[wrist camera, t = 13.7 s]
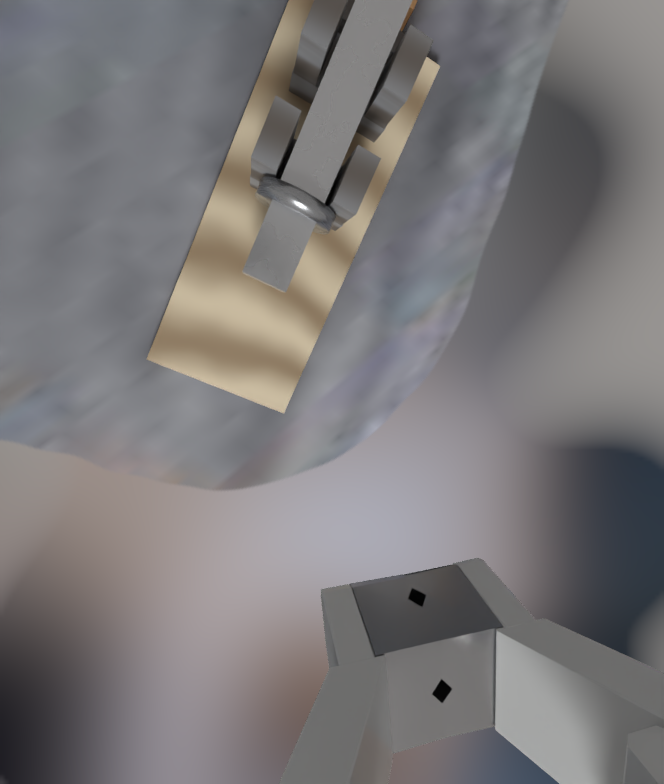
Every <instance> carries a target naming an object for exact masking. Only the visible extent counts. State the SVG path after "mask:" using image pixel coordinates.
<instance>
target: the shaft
mask: <svg viewBox="0 0 664 784" xmlns="http://www.w3.org/2000/svg"><path fill="white" fill-rule="evenodd" d="M412 1H413V0H355V2H354V4H353V7H352V9H351V11H350V14H349V16H348V19H347V21H346V23H345V26H344V28H343V31H342V33H341V35H340V38H339V40H338V43H337V45H336V47H335V50H334V52H333V55H332V57H331V59H330V62H329V64H328V67H327V69H326V71H325V74H324V76H323V79H322V81H321V83H320V86H319V88H318V91H317V93H316V95H315V98H314V100H313V103H312V105H311V107H310V110H309V112H308V115H307V117H306V120H305V122H304V124H303V127H302V129H301V132H300V134H299V136H298V139H297V141H296V144H295V146H294V148H293V151H292V153H291V156H290V158H289V160H288V163H287V165H286V168H285V170H284V172H283V175H282V177H281V180H280V179H277V178H273V177H262V178H261V181H260V183H259V186H258V188H257V191H256V193H255V197H256V199H257V200H258V201H259V202H260V203H261V204H263V205H264V206H265V207H266V208H268V211H267V213H266V216H265V218H264V220H263V223H262V225H261V228H260V230H259V232H258V235H257V237H256V240H255V242H254V244H253V247H252V249H251V252H250V254H249V256H248V259H247V261H246V264H245V266H244V268H243V271H242V272H243V274H245V275H247V276H249V277H251V278H253V279H256V280H258V281H260V282H262V283H264V284H266V285H268V286H270V287H273V288H275V289H277V290H279V291H281V292H286V291H287V289H288V287H289V284H290V282H291V280H292V277H293V275H294V273H295V270H296V268H297V266H298V264H299V261H300V259H301V257H302V254H303V252H304V250H305V247H306V245H307V243H308V240H309V238H310V236H311V234H312V232H315V233H319V234H324V235H326V234H329V232H330V230H331V228H332V225H333V223H334V221H335V218H336V216H335V214H334V212H333V211H332V210H331V209H330V208H329V207H328V206H327V205H326V204H325V201H326V199H327V197H328V194H329V192H330V190H331V187H332V185H333V183H334V180H335V178H336V176H337V174H338V171H339V169H340V167H341V164H342V162H343V160H344V157H345V155H346V153H347V151H348V148H349V146H350V144H351V141H352V139H353V137H354V134H355V132H356V130H357V127H358V125H359V123H360V121H361V118H362V116H363V114H364V111H365V109H366V107H367V104H368V102H369V100H370V97H371V95H372V93H373V91H374V88H375V86H376V84H377V81H378V79H379V77H380V74H381V72H382V70H383V67H384V65H385V63H386V61H387V58H388V56H389V54H390V51H391V49H392V47H393V44H394V42H395V40H396V37H397V35H398V33H399V31H400V28H401V26H402V24H403V21H404V19H405V17H406V14H407V12H408V10H409V7H410V5H411V3H412Z"/></svg>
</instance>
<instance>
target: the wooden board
mask: <svg viewBox="0 0 664 784" xmlns="http://www.w3.org/2000/svg"><path fill="white" fill-rule="evenodd" d="M354 2H355V0H289V1H288V4H287V6H286V9H285V11H284V14H283V16H282V19H281V21H280V24H279V26H278V29H277V31H276V34H275V36H274V39H273V41H272V44H271V47H270V49H269V52H268V54H267V57H266V59H265V62H264V64H263V67H262V69H261V72H260V74H259V77H258V79H257V82H256V84H255V87H254V89H253V92H252V94H251V97H250V100H249V102H248V105H247V107H246V110H245V112H244V115H243V117H242V120H241V122H240V125H239V127H238V130H237V132H236V135H235V137H234V140H233V142H232V145H231V147H230V150H229V153H228V155H227V158H226V160H225V163H224V165H223V168H222V170H221V173H220V175H219V178H218V180H217V183H216V185H215V188H214V190H213V193H212V195H211V198H210V201H209V203H208V206H207V208H206V211H205V213H204V216H203V218H202V221H201V223H200V226H199V228H198V231H197V233H196V236H195V238H194V241H193V243H192V246H191V248H190V251H189V254H188V256H187V259H186V261H185V264H184V266H183V269H182V271H181V274H180V276H179V279H178V281H177V284H176V286H175V289H174V291H173V294H172V296H171V299H170V301H169V304H168V307H167V309H166V312H165V314H164V317H163V319H162V322H161V324H160V327H159V329H158V332H157V334H156V337H155V339H154V342H153V344H152V347H151V349H150V352H149V354H148V357H147V360H150V361H152V362H155V363H157V364H160V365H162V366H165V367H167V368H170V369H172V370H175V371H177V372H180V373H183V374H185V375H188V376H190V377H193V378H195V379H198V380H200V381H203V382H205V383H208V384H210V385H213V386H215V387H218V388H221V389H223V390H226V391H228V392H231V393H233V394H236V395H238V396H241V397H243V398H246V399H248V400H251V401H253V402H256V403H259V404H261V405H264V406H266V407H269V408H271V409H274V410H276V411H279V412H281V413H284V412H285V409H286V407H287V405H288V403H289V401H290V398H291V396H292V394H293V392H294V389H295V387H296V385H297V383H298V381H299V378H300V376H301V374H302V372H303V370H304V367H305V365H306V363H307V361H308V358H309V356H310V354H311V352H312V350H313V347H314V345H315V343H316V341H317V338H318V336H319V334H320V332H321V330H322V327H323V325H324V323H325V321H326V318H327V316H328V314H329V312H330V310H331V307H332V305H333V303H334V301H335V299H336V296H337V294H338V292H339V290H340V287H341V285H342V283H343V281H344V279H345V276H346V274H347V272H348V270H349V267H350V265H351V263H352V261H353V259H354V256H355V254H356V252H357V250H358V248H359V245H360V243H361V241H362V239H363V236H364V234H365V232H366V230H367V228H368V225H369V223H370V221H371V219H372V216H373V214H374V212H375V210H376V208H377V205H378V203H379V201H380V199H381V196H382V194H383V192H384V190H385V188H386V185H387V183H388V181H389V179H390V177H391V174H392V172H393V170H394V168H395V165H396V163H397V161H398V159H399V157H400V154H401V152H402V150H403V148H404V145H405V143H406V141H407V139H408V137H409V134H410V132H411V130H412V128H413V125H414V123H415V121H416V119H417V117H418V114H419V112H420V110H421V108H422V106H423V103H424V101H425V99H426V97H427V94H428V92H429V90H430V88H431V86H432V83H433V81H434V79H435V77H436V74H437V72H438V70H439V68H440V66H439V65H438V64H436V63H435V62H434V61H432V60H431V59H429V58H428V57H427V54H428V52H429V50H430V48H431V45H432V43H433V41H434V40H432V39H431V38H429V37H428V36H426V35H425V34H424V33H422V32H421V31H419V30H418V29H417V28H415V27H414V26H412V25H411V24H410V26H409V28H408V30H407V31H406V33H405V35H404V32H402V31H401V30H400V31H399V33H398V35H397V37H396V40H395V42H394V44H393V47H392V49H391V51H390V54H389V56H388V58H387V61H386V63H385V65H384V67H383V70H382V72H381V74H380V77H379V79H378V81H377V84H376V86H375V88H374V91H373V93H372V95H371V97H370V100H369V102H368V104H367V107H366V109H365V111H364V114H363V116H362V118H361V121H360V123H359V125H358V127H357V130H356V132H355V134H354V137H353V139H352V141H351V144H350V146H349V148H348V151H347V153H346V155H345V157H344V160H343V162H342V164H341V167H340V169H339V171H338V174H337V176H336V178H335V180H334V183H333V185H332V187H331V190H330V192H329V194H328V197H327V199H326V201H325V204H326V205H327V206H328V207H329V208H330V209H331V210H332V211H333V212H334V214H335V216H336V218H335V221H334V223H333V225H332V228H331V230H330V232H329V234H326V235H324V234H319V233H315V232H312V234H311V236H310V238H309V240H308V243H307V245H306V247H305V250H304V252H303V254H302V257H301V259H300V261H299V264H298V266H297V268H296V270H295V273H294V275H293V277H292V280H291V282H290V284H289V287H288V289H287V291H286V292H281V291H279V290H277V289H275V288H273V287H270V286H268V285H266V284H264V283H262V282H260V281H258V280H256V279H253V278H251V277H249V276H247V275H245V274H243V272H242V271H243V268H244V266H245V264H246V261H247V259H248V256H249V254H250V252H251V249H252V247H253V244H254V242H255V240H256V237H257V235H258V232H259V230H260V228H261V225H262V223H263V220H264V218H265V216H266V213H267V211H268V208H266V207H265V206H264V205H263V204H261V203H260V202H259V201H258V200H257V199H256V197H255V193H256V191H257V188H258V186H259V183H260V181H261V178H262V177H273V178H277V179H280V180H281V177H282V175H283V172H284V170H285V168H286V165H287V163H288V160H289V158H290V156H291V153H292V151H293V148H294V146H295V144H296V141H297V139H298V136H299V134H300V132H301V129H302V127H303V124H304V122H305V120H306V117H307V115H308V112H309V110H310V107H311V105H312V103H313V100H314V98H315V95H316V93H317V91H318V88H319V86H320V83H321V81H322V79H323V76H324V74H325V71H326V69H327V67H328V64H329V62H330V59H331V57H332V55H333V52H334V50H335V47H336V45H337V43H338V40H339V38H340V35H341V33H342V31H343V28H344V26H345V23H346V21H347V19H348V16H349V14H350V11H351V9H352V7H353V4H354Z"/></svg>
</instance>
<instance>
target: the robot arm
mask: <svg viewBox="0 0 664 784" xmlns="http://www.w3.org/2000/svg"><path fill="white" fill-rule="evenodd" d="M321 602H322V611H323V621H324V631H325V641H326V648H327V656H328V663H329V671H328V673H327V675H326V677H325V680H324V682H323V684H322V687H321V689H320V691H319V693H318V696H317V698H316V700H315V702H314V705H313V707H312V709H311V712H310V714H309V716H308V718H307V721H306V723H305V725H304V728H303V730H302V732H301V734H300V737H299V739H298V741H297V744H296V746H295V748H294V750H293V753H292V755H291V757H290V760H289V762H288V764H287V766H286V769H285V771H284V773H283V775H282V778H281V780H280V783H279V784H388V782H389V776H390V770H391V765H392V760H393V753H396V752H400V751H403V750H406V749H409V748H413V747H416V746H419V745H422V744H426V743H429V742H433V741H435V740H439V739H442V738H447V737H451V736H455V735H460V734H464V733H468V732H472V731H477V730H481V729H486V728H490V727H494V726H495V730H496V731H498V732H499V733H500V734H501V735H502V736H504V737H505V738H506V739H507V740H508V741H509V742H511V743H512V744H513V745H514V746H515V747H517V748H518V749H519V750H520V751H521V752H523V753H524V754H525V755H526V756H528V757H529V758H530V759H531V760H532V761H533V762H535V763H536V764H537V765H538V766H540V768H542V769H543V770H544V771H545V772H547V773H548V774H549V775H550V776H551V777H553V778H554V779H555V780H556V781H557V782H558V783H560V784H664V673H663V672H661V671H659V670H656V669H654V668H652V667H650V666H648V665H645V664H643V663H641V662H639V661H636V660H634V659H632V658H630V657H628V656H626V655H624V654H621V653H619V652H617V651H615V650H613V649H610V648H608V647H606V646H604V645H602V644H599V643H597V642H595V641H593V640H590V639H588V638H586V637H584V636H582V635H580V634H578V633H575V632H573V631H571V630H569V629H567V628H564V627H562V626H560V625H558V624H556V623H553V622H551V621H549V620H547V619H539V620H536V619H535V618H534V617H533V616H532V615H531V614H530V613H529V611H528V610H527V609H526V608H525V607H524V606H523V605H522V603H521V602H520V601H519V600H518V599H517V598H516V597H515V596H514V594H513V593H512V592H511V591H510V590H509V589H508V588H507V586H506V585H505V584H504V583H503V582H502V581H501V580H500V579H499V578H498V576H497V575H496V574H495V573H494V572H493V571H492V569H491V568H490V567H489V566H488V565H487V564H486V563H485V562H484V560H482V559H479V558H475V559H470V560H466V561H462V562H458V563H453V564H452V565H447V566H442V567H438V568H433V569H428V570H423V571H418V572H414V573H409V574H404V575H397V576H391V577H385V578H380V579H374V580H368V581H363V582H357V583H351V584H349V585H348V584H347V585H342V586H337V587H332V588H326V589H322V590H321Z"/></svg>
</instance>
